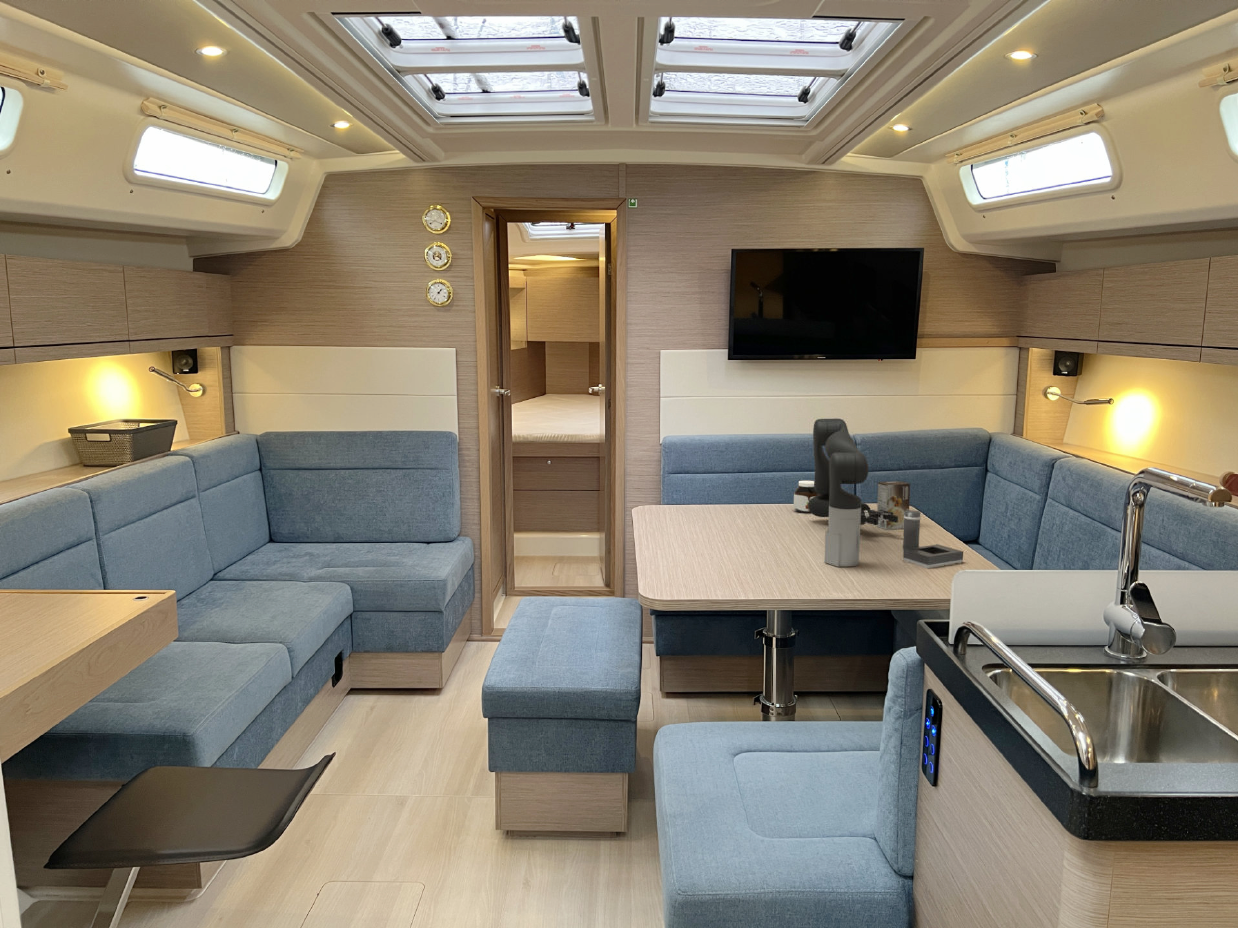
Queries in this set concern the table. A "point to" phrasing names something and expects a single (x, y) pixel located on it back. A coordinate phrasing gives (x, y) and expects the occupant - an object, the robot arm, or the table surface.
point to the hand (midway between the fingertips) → (887, 520)
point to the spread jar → (804, 496)
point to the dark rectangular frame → (932, 556)
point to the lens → (911, 529)
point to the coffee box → (893, 502)
